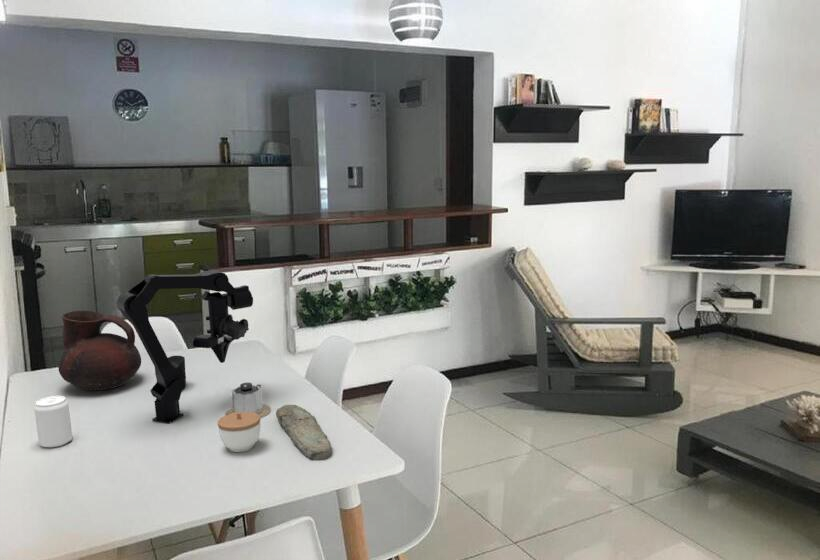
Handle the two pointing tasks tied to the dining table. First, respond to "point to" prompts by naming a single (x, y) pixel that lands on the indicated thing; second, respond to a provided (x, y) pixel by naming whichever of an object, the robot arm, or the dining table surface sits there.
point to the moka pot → (249, 401)
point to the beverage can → (53, 421)
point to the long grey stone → (304, 431)
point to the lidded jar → (239, 430)
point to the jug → (97, 352)
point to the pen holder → (179, 363)
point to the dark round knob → (246, 387)
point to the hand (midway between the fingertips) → (222, 362)
